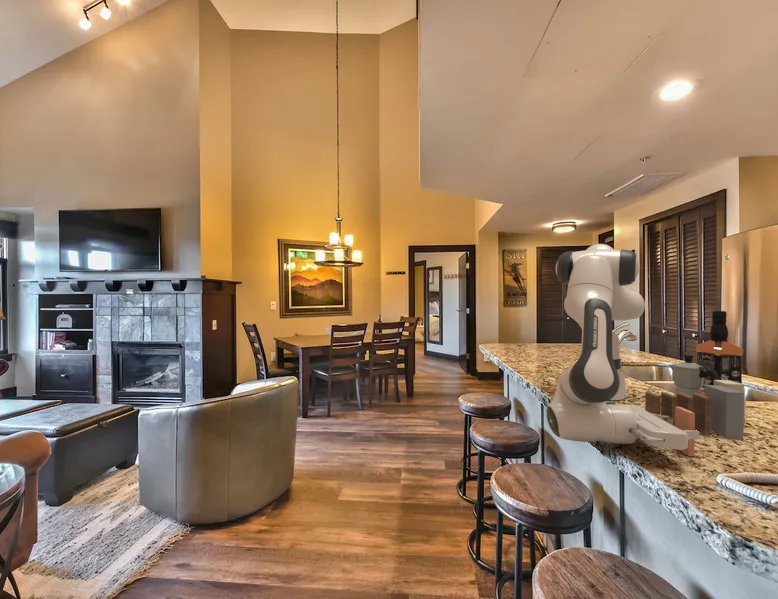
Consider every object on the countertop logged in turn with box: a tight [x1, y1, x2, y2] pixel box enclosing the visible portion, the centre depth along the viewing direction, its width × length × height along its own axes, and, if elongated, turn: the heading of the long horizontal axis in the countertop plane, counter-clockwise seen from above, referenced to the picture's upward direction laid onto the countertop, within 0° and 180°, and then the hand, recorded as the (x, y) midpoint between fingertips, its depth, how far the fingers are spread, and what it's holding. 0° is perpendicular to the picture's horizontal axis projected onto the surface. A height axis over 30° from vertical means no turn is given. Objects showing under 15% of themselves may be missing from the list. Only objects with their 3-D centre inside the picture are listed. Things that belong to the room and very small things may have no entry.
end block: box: [705, 385, 745, 441], centre depth 101 cm, size 8×4×12 cm, turn 173°
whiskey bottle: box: [695, 310, 744, 396], centre depth 129 cm, size 10×10×32 cm
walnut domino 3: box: [677, 393, 694, 412], centre depth 102 cm, size 1×5×10 cm, turn 173°
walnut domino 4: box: [693, 393, 711, 437], centre depth 101 cm, size 1×5×10 cm, turn 173°
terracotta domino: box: [675, 407, 696, 457], centre depth 88 cm, size 1×5×10 cm, turn 172°
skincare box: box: [714, 380, 746, 428], centre depth 109 cm, size 6×4×12 cm
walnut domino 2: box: [660, 391, 677, 426], centre depth 102 cm, size 1×5×10 cm, turn 173°
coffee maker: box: [668, 354, 720, 397], centre depth 120 cm, size 15×9×18 cm, turn 18°
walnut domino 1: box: [644, 391, 661, 415], centre depth 103 cm, size 1×5×10 cm, turn 172°
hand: (683, 427), depth 88 cm, fingers open, 8 cm apart
